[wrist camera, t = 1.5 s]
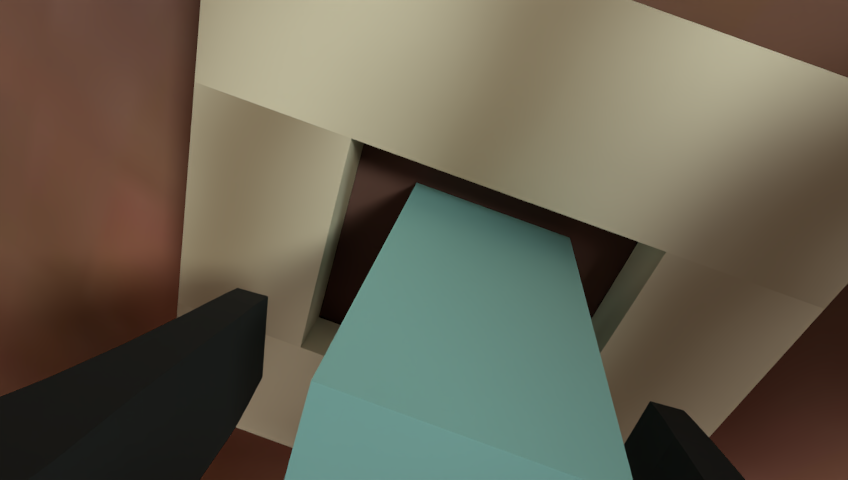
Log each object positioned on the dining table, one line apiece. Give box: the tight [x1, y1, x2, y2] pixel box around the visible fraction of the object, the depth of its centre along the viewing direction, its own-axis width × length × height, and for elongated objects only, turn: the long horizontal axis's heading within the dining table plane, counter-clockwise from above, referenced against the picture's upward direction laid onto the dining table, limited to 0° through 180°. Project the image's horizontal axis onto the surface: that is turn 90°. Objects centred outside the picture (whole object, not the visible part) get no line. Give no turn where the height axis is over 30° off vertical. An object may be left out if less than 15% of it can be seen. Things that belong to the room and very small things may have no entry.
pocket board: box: [177, 0, 848, 448], centre depth 12 cm, size 14×14×1 cm
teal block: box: [284, 183, 633, 480], centre depth 9 cm, size 4×4×7 cm
